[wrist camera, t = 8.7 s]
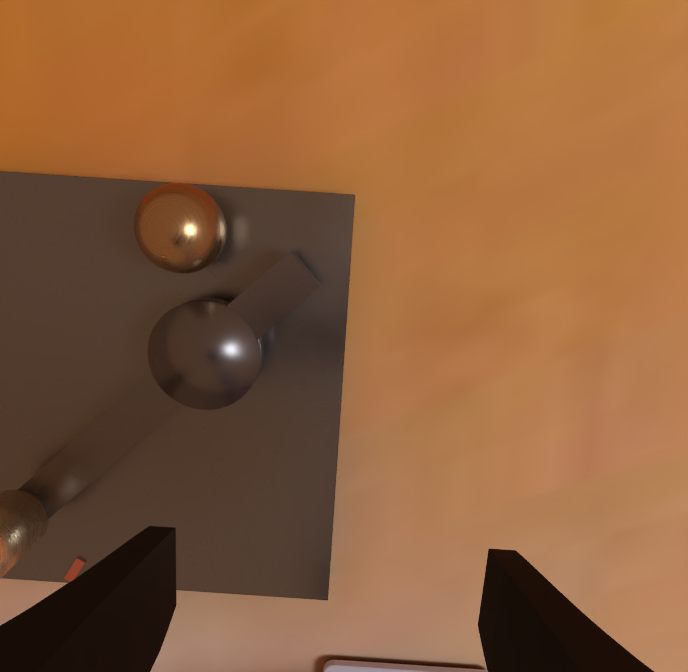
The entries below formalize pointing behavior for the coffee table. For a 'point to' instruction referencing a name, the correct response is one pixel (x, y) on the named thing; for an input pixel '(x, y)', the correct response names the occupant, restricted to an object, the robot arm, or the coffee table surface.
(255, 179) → the coffee table surface
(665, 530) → the coffee table surface
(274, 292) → the lever
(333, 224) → the dark grey flat slab
